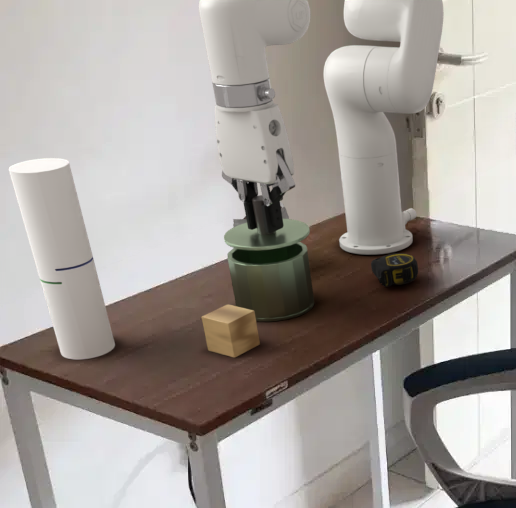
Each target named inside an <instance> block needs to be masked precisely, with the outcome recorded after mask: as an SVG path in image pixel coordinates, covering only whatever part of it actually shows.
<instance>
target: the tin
mask: <svg viewBox="0 0 516 508" xmlns="http://www.w3.org/2000/svg"><path fill="white" fill-rule="evenodd" d="M227 263H228V269H229V274H230V280H231V286H232V290H233V298H234V302H235V306H237V307H241V308H245V309H249V310H254V312H255V318H256V322H266V323H267V322H279V321H280V322H281V321H285V320H291V319H294V318H298V317H300V316H303V315H305V314H306V313H308V312H310V311H311V310H312V309H313V308H314V306H315V297H314V289H313V281H312V280H313V279H312V274H311V267H310V266H311V265H310V260H309V251H308V247H307V245H306V244H305V243H303V242H302V241H300V242H298V243H296V244H293V245H290V246H286V247H282V248H277V249H270V250H241V249H236V248H233V247H232V249H231V250H230V251H228V253H227Z"/></svg>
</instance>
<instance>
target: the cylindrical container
mask: <svg viewBox="0 0 516 508" xmlns="http://www.w3.org/2000/svg"><path fill="white" fill-rule="evenodd" d="M8 174H9V177H10V180H11V183H12V187H13V190H14V194H15V197H16V202H17V205H18V207H19V211H20V215H21V218H22V223H23V225H24V229H25V233H26V236H27V240H28V243H29V247H30V250H31V254H32V257H33V261H34V263H35V268H36V271H37V275H38V278H39V282H40V285H41V288H42V292H43V295H44V296H43V297H44V300H45V303H46V306H47V308H48V313H49V317H50V321H51V323H52V328H53V330H54V334H55V339H56V341H57V345H58V349H59V352H60V355H61V357H63V358H65V359H69V360H88V359H94V358H98V357H101V356H104V355H106V354H108V353H110V352H112V350H114V349H115V347H116V343H115V339H114V334H113V332H112V326H111V323H110V319H109V314H108V311H107V307H106V304H105V299H104V296H103V295H104V294H103V292H102V288H101V287H102V286H101V283H100V280H99V276H98V271H97V268H96V264H95V260H94V256H93V252H92V247H91V244H90V240H89V236H88V232H87V227H86V224H85V220H84V217H83V212H82V209H81V203H80V201H79V197H78V192H77V188H76V184H75V180H74V176H73V173H72V168H71V164H70V161H69V160H68V159H66V158H61V157H45V158H34V159H28V160H24V161H20V162H17V163H15V164H12V165H10V166H9V167H8Z"/></svg>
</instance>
